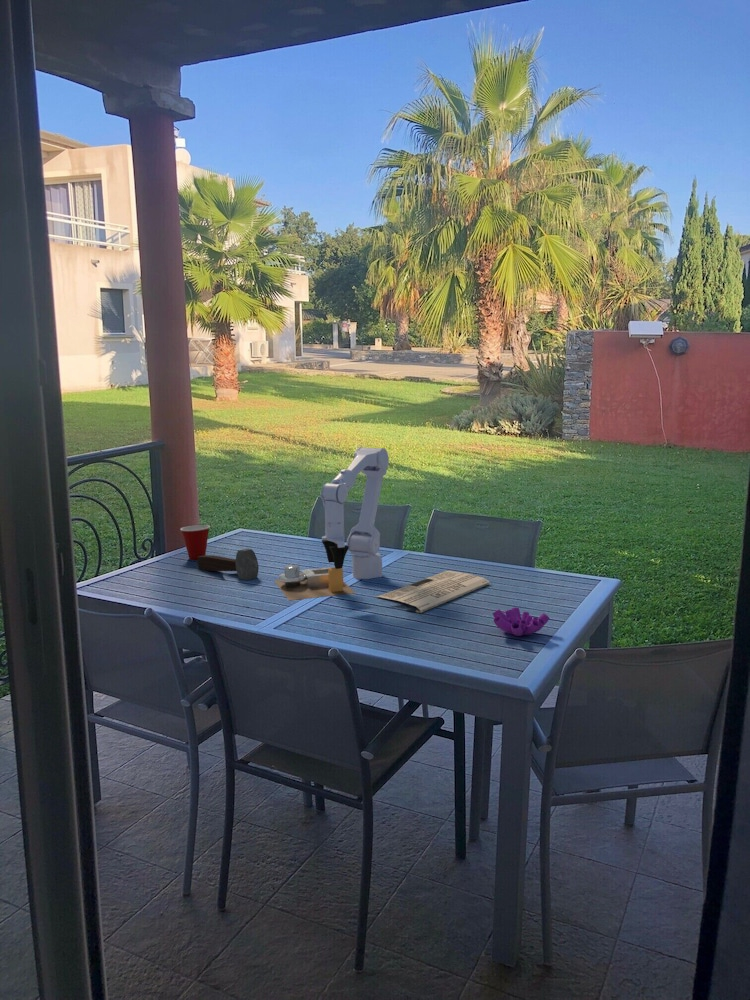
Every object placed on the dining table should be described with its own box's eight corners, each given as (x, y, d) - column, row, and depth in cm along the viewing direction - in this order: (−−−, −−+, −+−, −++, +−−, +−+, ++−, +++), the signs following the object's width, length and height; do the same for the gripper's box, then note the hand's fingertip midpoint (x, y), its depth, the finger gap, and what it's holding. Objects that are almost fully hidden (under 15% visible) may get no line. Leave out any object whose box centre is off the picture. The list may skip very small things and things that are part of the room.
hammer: (197, 579, 276) (248, 585, 256) (193, 548, 275) (244, 551, 254) (208, 576, 280) (260, 581, 259) (204, 545, 279) (256, 548, 258)
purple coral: (539, 654, 205) (529, 632, 199) (490, 640, 214) (479, 619, 208) (556, 620, 210) (547, 597, 204) (507, 608, 220) (497, 587, 214)
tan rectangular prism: (340, 588, 247) (340, 566, 245) (343, 590, 244) (342, 568, 243) (328, 589, 245) (328, 568, 244) (330, 592, 243) (330, 570, 242)
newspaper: (444, 576, 266) (444, 568, 265) (494, 587, 253) (494, 579, 253) (374, 603, 238) (374, 594, 238) (425, 616, 226) (425, 607, 225)
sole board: (336, 578, 263) (336, 574, 262) (356, 597, 242) (356, 593, 242) (274, 585, 256) (274, 580, 256) (289, 605, 236) (288, 600, 235)
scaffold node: (335, 576, 259) (335, 559, 258) (343, 583, 251) (342, 565, 250) (276, 582, 253) (275, 564, 252) (282, 590, 245) (281, 571, 244)
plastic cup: (202, 552, 298) (200, 521, 296) (217, 558, 290) (215, 526, 288) (176, 558, 291) (174, 526, 289) (191, 563, 283) (189, 531, 281)
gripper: (315, 518, 246) (316, 560, 249) (328, 528, 233) (329, 572, 235) (337, 516, 249) (338, 558, 251) (350, 526, 235) (351, 570, 238)
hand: (335, 565), depth 243 cm, fingers open, 7 cm apart
